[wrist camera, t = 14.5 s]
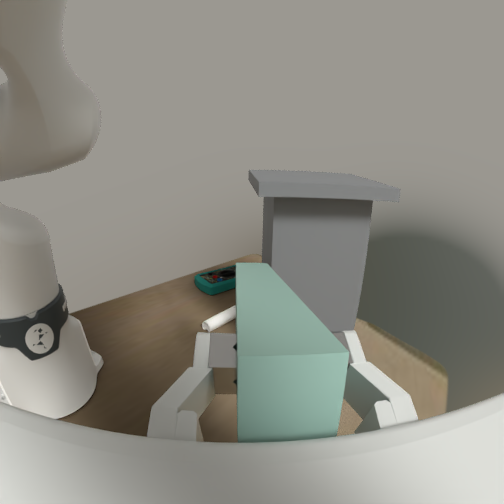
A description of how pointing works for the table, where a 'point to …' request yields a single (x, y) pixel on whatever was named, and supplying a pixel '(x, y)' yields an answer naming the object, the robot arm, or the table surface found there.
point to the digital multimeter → (217, 280)
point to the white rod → (219, 319)
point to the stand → (319, 236)
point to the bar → (284, 363)
